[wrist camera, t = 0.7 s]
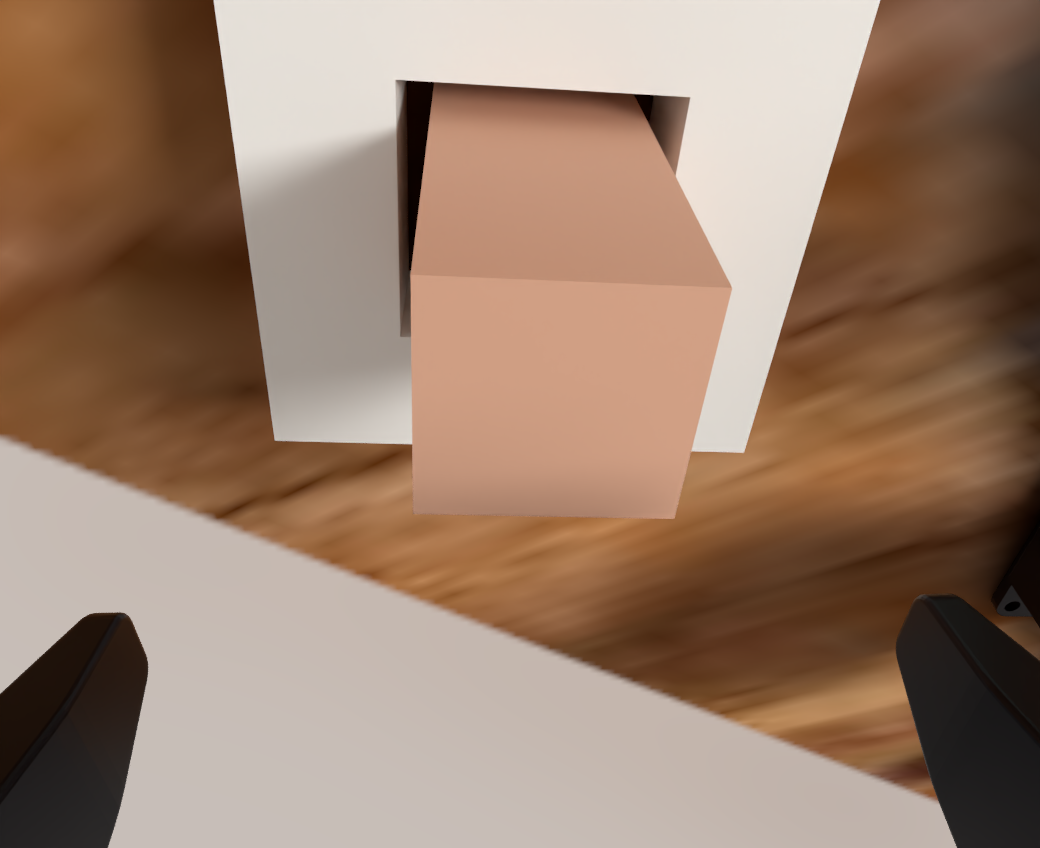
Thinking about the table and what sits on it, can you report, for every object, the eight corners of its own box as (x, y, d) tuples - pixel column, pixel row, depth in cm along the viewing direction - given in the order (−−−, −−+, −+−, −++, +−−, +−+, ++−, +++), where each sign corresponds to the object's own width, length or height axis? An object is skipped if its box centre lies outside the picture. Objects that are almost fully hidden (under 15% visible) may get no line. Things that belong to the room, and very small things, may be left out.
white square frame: (839, -102, 16) (904, -80, 13) (714, 380, 22) (744, 452, 20) (238, -149, 15) (194, -135, 12) (296, 367, 22) (274, 441, 19)
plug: (627, 81, 18) (732, 288, 10) (602, 254, 20) (674, 518, 13) (435, 69, 17) (411, 274, 10) (434, 247, 20) (413, 514, 13)
